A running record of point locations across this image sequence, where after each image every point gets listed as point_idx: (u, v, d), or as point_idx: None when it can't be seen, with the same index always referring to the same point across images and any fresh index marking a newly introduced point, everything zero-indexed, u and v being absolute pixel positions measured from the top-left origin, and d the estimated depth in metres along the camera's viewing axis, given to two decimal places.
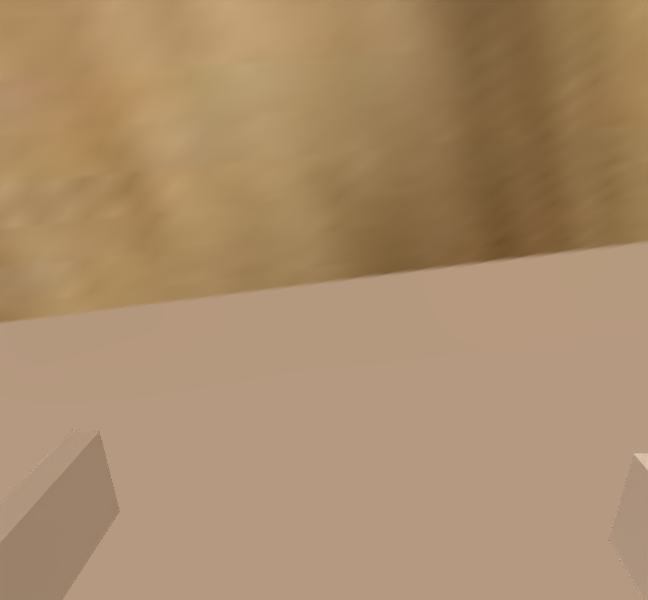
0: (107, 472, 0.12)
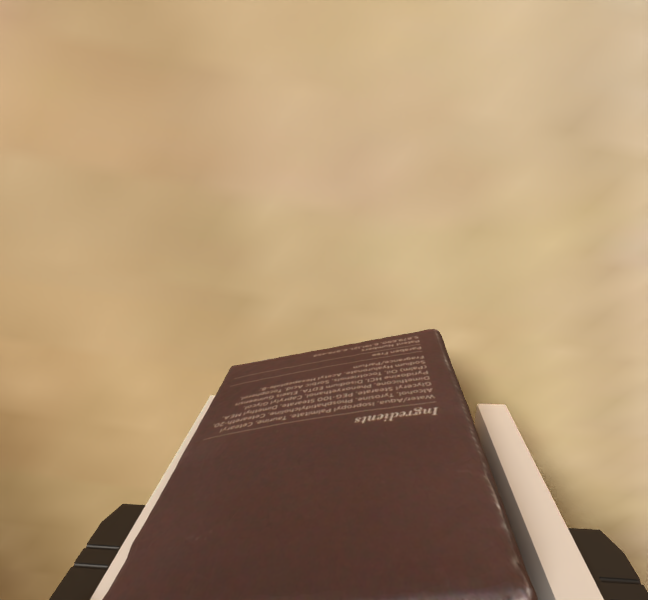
0: None
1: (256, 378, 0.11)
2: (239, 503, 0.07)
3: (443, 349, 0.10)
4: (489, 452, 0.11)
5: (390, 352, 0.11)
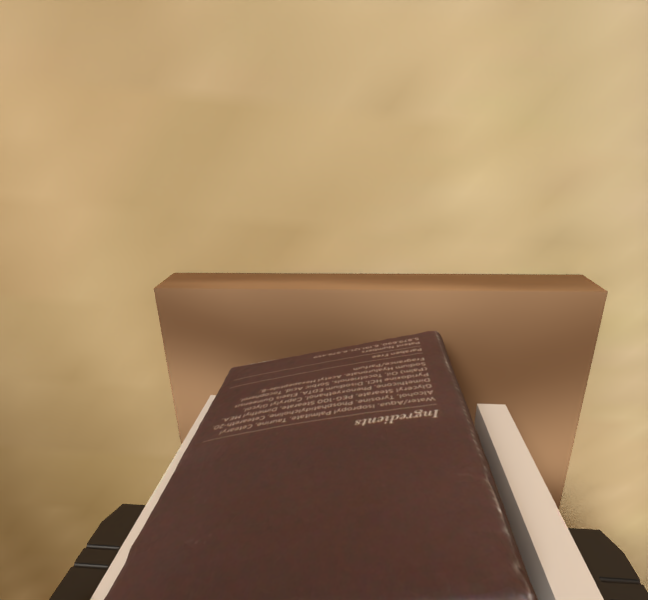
0: None
1: (256, 380, 0.11)
2: (239, 505, 0.07)
3: (444, 351, 0.10)
4: (489, 451, 0.11)
5: (390, 354, 0.11)
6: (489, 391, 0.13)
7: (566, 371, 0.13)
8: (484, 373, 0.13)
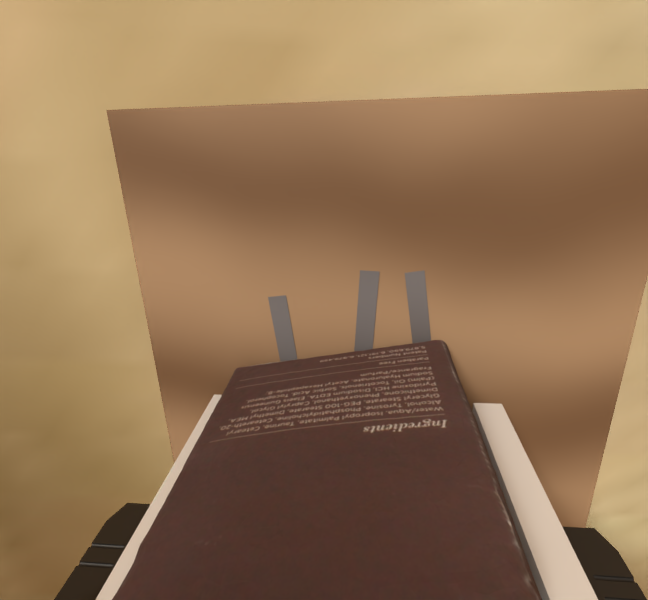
0: None
1: (262, 381, 0.11)
2: (248, 508, 0.07)
3: (450, 361, 0.10)
4: None
5: (397, 361, 0.11)
6: (532, 242, 0.11)
7: (633, 209, 0.10)
8: (527, 216, 0.10)
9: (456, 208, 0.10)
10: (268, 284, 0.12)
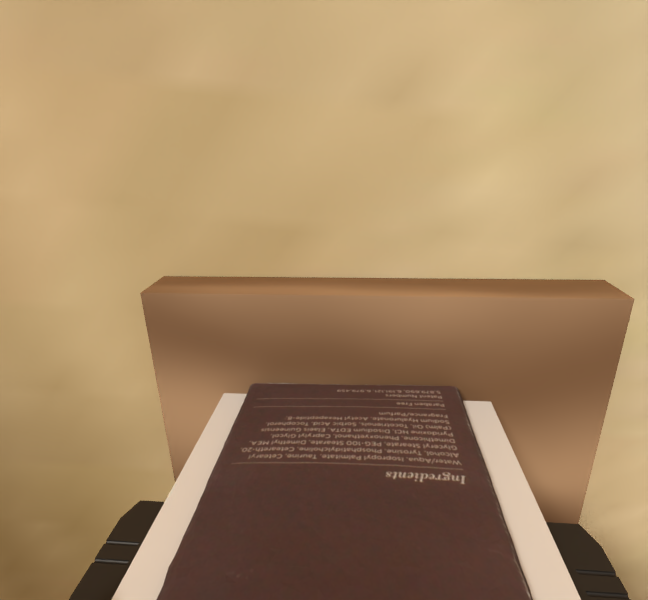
0: None
1: (280, 404, 0.11)
2: (277, 544, 0.07)
3: (465, 411, 0.11)
4: None
5: (414, 404, 0.11)
6: (503, 406, 0.12)
7: (587, 385, 0.12)
8: (497, 386, 0.12)
9: (438, 378, 0.12)
10: None
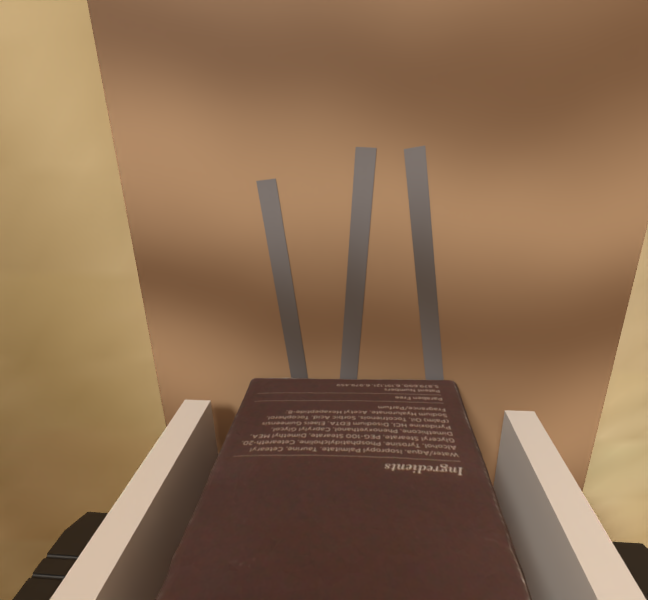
0: (214, 438, 0.13)
1: (281, 398, 0.12)
2: (279, 534, 0.08)
3: (462, 404, 0.11)
4: (521, 461, 0.10)
5: (413, 397, 0.11)
6: (542, 110, 0.10)
7: None
8: (537, 78, 0.10)
9: (460, 70, 0.10)
10: (256, 165, 0.11)
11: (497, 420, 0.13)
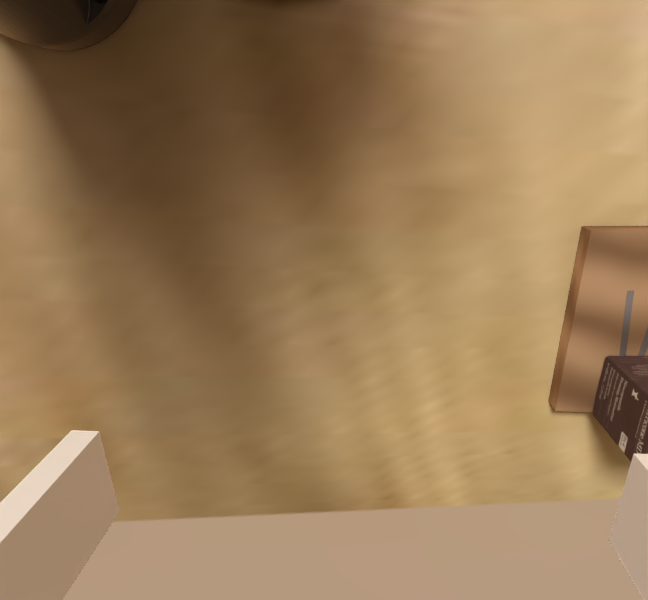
0: (107, 472, 0.12)
1: (628, 361, 0.34)
2: None
3: None
4: None
5: None
6: None
7: None
8: None
9: None
10: (628, 286, 0.34)
11: None
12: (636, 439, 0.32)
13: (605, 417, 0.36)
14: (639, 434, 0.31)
